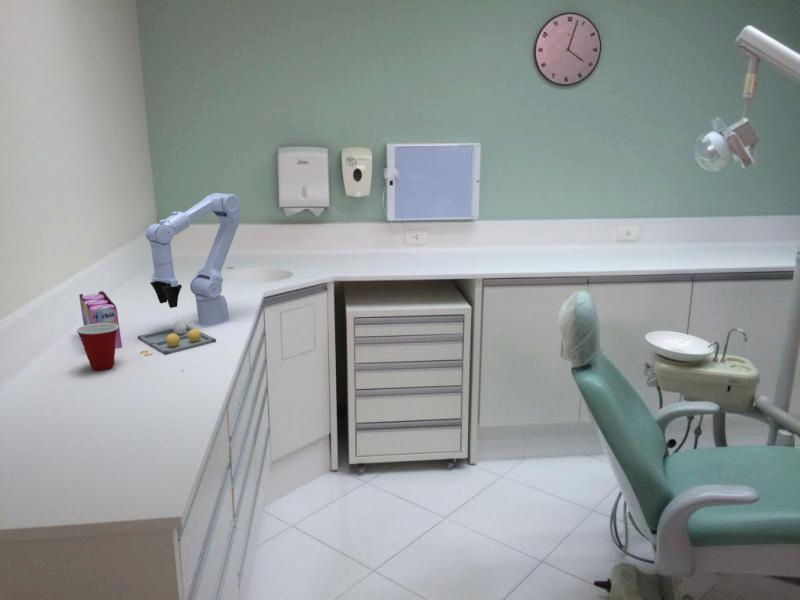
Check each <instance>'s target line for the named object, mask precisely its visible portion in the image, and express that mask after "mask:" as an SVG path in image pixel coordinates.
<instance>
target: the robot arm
mask: <svg viewBox="0 0 800 600" xmlns="http://www.w3.org/2000/svg"><path fill="white" fill-rule="evenodd" d="M241 209H242V205H241V201H240V199H239V198H238V196H237V195H236V194H234V193H220V192H213V193H211V194H209V195H207V196H205V197H204V198H203V199H202V200H201V201H199V202H198V203H196V204H195V205H194V206H192V207H190V208H189V209H187V210H186V211H183V212H182V211H172V212H171V215H169V216H167V218H165V219H160V220H159V222H158V223H153V224H151V225H149V226H148V228H147V230H146V233H145V238H146V239H147V241H149V243H150V244H149V245H150V249H151V256H152V263H153V272H154V273H153V272H152V278H151V282H150V285H151V286H152V288H153V290H154V291H155V294H156V296H157V299H158V302H159V303H160V304H165V303H167V304H168V307H169V309H173V308H177V307H178V301H179V295H180V291H181V290H182V288H183V287H182V286H183V285H182V284H179V282H178V281H179V280H178V279H177V277H176V275H175V271H174V269H175V268H174V262H173V253H172V246H171V242H172V241H173V238H174V237H175V236H176V235H178V234H180V233H181V232H182V233H183V231H184V230H186V229H189V227H190V225H191V222H192V221H194V220H195V219H198V218H200V217H201V216H203V215H206V214H208V213H209V212H212V213H213V214H214V215H215V217H217V219H218V220H219V224H220V225H219V228H218V230H217V232H216V235H215V237H214V240H213V243H212V246H211V248H210V251H209V253H208V256H207V258H206V261H205V264H204V266H203V267H202V268H201V269H200V270H198V271H197V272H196V275H195V276H194V278H193V279H192V280H191V282H190V285H189V287H190V288H189V289H190V291H191V293H192V294H193V295H194V298H195V304H196V311H197V313H196V314H197V321H194V322H193V323H194V324H196V325H197V326H199V327H201V328H208V327H212V326H216V325H221V324H224V323H225V324H226V323H229V322H230V321H231V320H230V319H229V318H230V317H229V309H228V303H227V302H228V301H227V298H225V296H224V295H222V289H223V286H222V285H223V281H224V278H223V275H222V274H221V272H222V269H223V267H224V264H225V262H226V258H227V256H228V254H229V251H230V248H231V246H232V243H233V241H234V237H235V235H236V233H237V231H238V228H239V223H240V211H241Z"/></svg>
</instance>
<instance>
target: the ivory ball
mask: <svg viewBox="0 0 800 600" xmlns="http://www.w3.org/2000/svg"><path fill="white" fill-rule="evenodd" d="M186 325H187V324H186V323H185V322H182V321H177V322H176V323H174V325H173V327H172V328H173V330H174V332H175V333H176V334H179V335H180V334H183V333H185V331H186Z"/></svg>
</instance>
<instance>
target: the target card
mask: <svg viewBox="0 0 800 600" xmlns="http://www.w3.org/2000/svg"><path fill="white" fill-rule="evenodd" d="M139 354H144V355H143V356H144V357H151V356H153V355H154V354H153V353H149V351H148V350H142V351H139Z"/></svg>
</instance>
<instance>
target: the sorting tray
mask: <svg viewBox="0 0 800 600" xmlns="http://www.w3.org/2000/svg"><path fill="white" fill-rule="evenodd" d="M185 325H186V331H185V333H183V334H180V335H179V334H177V335H178V336H179V338H180V342H179V344H178V345H177V346H175V347H170V346H168V345H167V343H166V337H167V336H168V335H169V334H176V333H175V332H174V330H173V327H171V328H168V329H167V328H166V329H162V330H157V331H154V332H149V333H146V334H145V333H144V334H142V335H137V339H138V340H139V341H141V342H143V343H144V344H146V345H148V346H149V347H151V348H152V349H154V350H156V351H157V352H159V353H160V354H162V355H165V356H167V355H171V354H176V353H179V352H183V351H187V350H191V349H195V348H198V347H202V346H206V345H210V344H214V343H217V338H214V337H212V336H210V335H209V334H207V333H204V332H202V331H200V333H201V338H200V340H199V341H197V342H192V341H190V340H189V339H188V336H187V335H188V332H189V331H190V330H192V329H195V328H194V327H192V326H190V325H188V324H185Z"/></svg>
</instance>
